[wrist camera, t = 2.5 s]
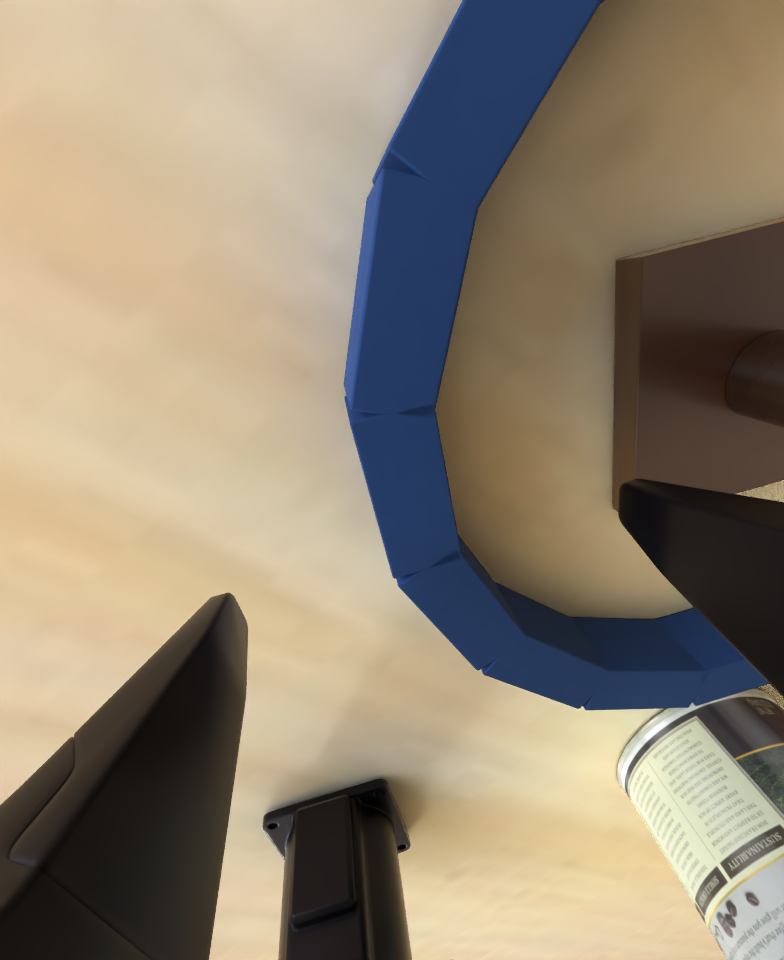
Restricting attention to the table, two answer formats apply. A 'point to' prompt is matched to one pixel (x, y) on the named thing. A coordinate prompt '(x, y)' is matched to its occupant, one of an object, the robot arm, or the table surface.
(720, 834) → the coffee can
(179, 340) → the table surface
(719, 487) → the peg stand
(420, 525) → the ring
